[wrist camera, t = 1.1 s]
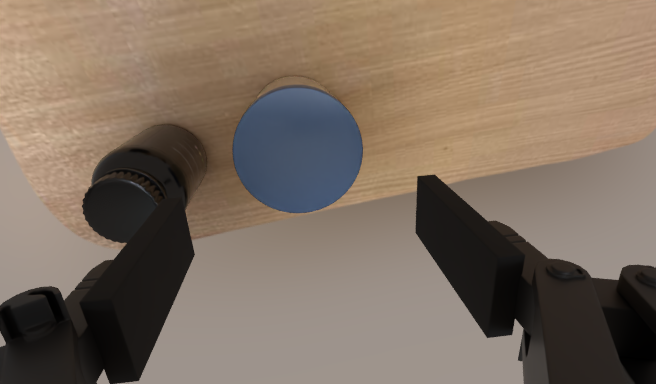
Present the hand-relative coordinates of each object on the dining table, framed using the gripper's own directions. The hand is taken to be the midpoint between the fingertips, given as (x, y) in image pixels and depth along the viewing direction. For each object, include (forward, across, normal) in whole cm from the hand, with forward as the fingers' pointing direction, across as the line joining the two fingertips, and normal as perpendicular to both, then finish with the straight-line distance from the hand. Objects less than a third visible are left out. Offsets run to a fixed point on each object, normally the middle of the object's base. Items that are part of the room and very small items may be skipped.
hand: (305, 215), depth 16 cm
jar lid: (+10, 0, 0) cm, 10 cm away
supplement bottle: (+21, -12, -3) cm, 24 cm away
